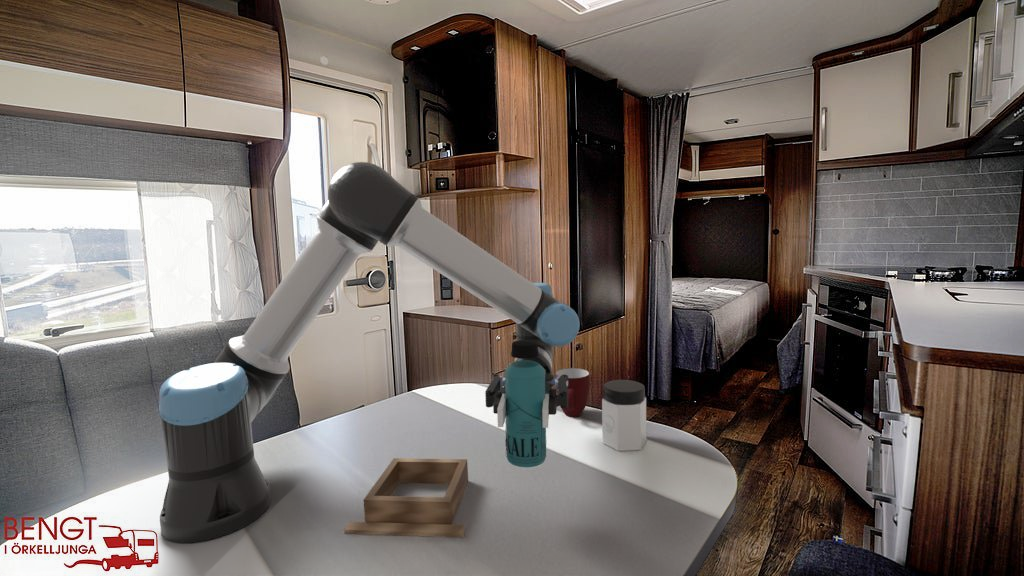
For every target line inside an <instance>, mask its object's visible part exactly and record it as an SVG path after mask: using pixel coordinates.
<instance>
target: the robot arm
mask: <svg viewBox="0 0 1024 576" xmlns="http://www.w3.org/2000/svg"><path fill="white" fill-rule="evenodd" d="M422 205H423V204H422V201H421V198H420V197H418V196H417V195H416V194H413V193H412V192H411V191H409V190H408V189H407V188H406V187H404V186H403V185H402V184H401V183H399V182H398V180H397V179H395V178H394V177H393V176H392V175H391V174H390V173H388V172H387V170H385V169H384V168H382V167H381V166H379V165H377V164H375V163H371V162H369V161H368V162H367V161H366V162H365V161H359V162H357V161H356V162H350V163H348V164H346V165H344V166H342V167H341V168H340V169H339V170H337V172H335V174H334V175H333V176H332V178H331V180H330V182H329V185H328V189H327V200H326V201H325V203H324V204H323V206H322V207H321V208H320V210H319V212H318V213H317V214H316V220H317V225H318V228H317V229H316V231H315V232H314V234H313V235H312V237H311V238H310V240H309V241H308V243H307V244H306V246H305V247H304V248H303V250H301V252H300V254H299V256H298V257H297V258H296V260H295V262H294V263H293V264H292V266H291V267H290V268H289V270H288V272H286V274H285V276H284V277H283V279H281V281H280V283H279V284H278V286H277V287H276V289H275V290H274V292H273V293H272V294H271V295H270V297H269V299H268V300H267V301H266V303H265V305H264V306H263V307H262V309H261V310H260V312H258V315H257V316H256V317H255V318H254V320H253V321H252V323H251V324H250V325H249V328H248V329H247V330H246V332H245V333H244V334H243V335H238V336H234V337H231V338H230V339H229V340H228V341H227V343H226V344H225V346H224V347H223V349H221V350H222V351H221V352H220V353H219V354H218V356H217V357H216V359H215V360H214V361H213V362H212V363H206V364H205V363H204V364H201V365H196V366H193V367H190V368H189V369H184V370H182V371H181V370H180V371H179V372H177V373H175V374H173V375H171V376H170V377H168V378H167V379H166V380H165V381H164V382H163V383H162V384H161V387H160V388H159V394H158V395H159V403H158V412H159V416H160V421H161V428H162V429H161V430H162V435H163V442H164V450H165V457H166V465H167V471H168V483H167V487H166V491H165V493H164V494H165V495H164V499H163V504H162V508H161V511H160V515H159V523H160V525H159V526H160V532H161V535H162V537H163V538H164V539H166V540H168V541H170V542H175V543H188V544H189V543H197V542H203V541H204V542H205V541H209V540H212V539H216V538H220V537H222V536H226V535H228V534H231V533H234V532H235V531H238V530H240V529H242V528H244V527H246V526H248V525H250V524H251V523H253V522H254V521H256V520H257V519H258V518H259V517H261V516H262V515H263V514H264V513H265V512H266V511H267V510H268V508H269V506H270V505H271V500H272V499H271V498H272V497H271V490H270V489H271V488H270V485H269V483H268V481H267V480H266V479H265V477H264V475H263V473H262V470H261V468H260V466H259V464H258V462H257V460H256V457H255V450H254V440H253V438H254V437H253V431H252V422H253V421H254V420H255V419H256V417H257V416H258V415H259V413H260V412H261V411H262V409H264V407H265V406H267V405H268V404H269V403H270V401H271V400H272V399H273V397H274V396H275V394H276V392H277V389H278V387H279V386H280V384H281V383H282V381H283V380H284V378H285V377H286V376H287V374H288V373H289V371H290V369H291V368H290V367H291V366H290V362H289V357H290V355H292V352H293V351H294V350H295V348H296V347H297V345H298V344H299V342H300V341H301V340H302V338H303V336H304V335H305V334H306V332H307V330H308V329H309V327H310V326H312V323H313V322H314V321H315V319H316V318H317V316H318V315H319V313H320V311H321V310H322V309H323V307H324V306H325V304H326V303H327V302H328V300H329V299H330V297H331V296H332V295H333V293H334V292H335V290H336V288H337V287H338V286H339V284H340V283H341V282H342V280H343V279H344V277H345V275H346V274H347V273H348V271H349V270H350V269H351V267H352V266H353V264H354V262H356V260H357V259H358V257H359V256H360V255H362V254H366V253H372V251H373V249H375V247H376V246H377V244H378V243H379V242H380V243H382V245H384V246H386V247H388V248H390V247H395V246H396V247H399V248H400V249H401V250H403V251H405V252H406V253H408V254H410V255H411V256H412V257H414V258H415V259H417V260H419V261H420V262H422V263H423V264H425V265H426V266H427V267H428V266H429V268H431V269H433V270H435V272H437V273H439V274H441V275H442V276H444V277H445V278H447V279H448V280H450V281H451V282H452V283H454V284H456V285H457V286H458V287H461V288H462V289H464V290H465V291H466V292H469V293H470V294H471V295H473V296H474V297H476V298H478V299H479V300H480V301H482V302H483V303H486V304H487V305H488V306H490V307H491V308H493V309H494V310H496V311H498V312H500V314H502V315H503V316H505V317H507V318H509V319H510V320H511V321H513V322H514V323H515V325H516V326H515V327H516V331H515V332H516V334H515V335H516V337H515V338H516V340H515V341H519V340H531V341H535V342H537V344H538V352H539V355H538V356H537V357H535V358H529V359H519V358H515V359H514V362H516V361H521V360H530V361H535V362H537V363H539V364H540V365H541V366H542V367H543V368H544V369H545V371H546V374H545V399H544V400H543V409H542V413H543V428H546V429H547V428H548V429H549V422H550V421H549V417H550V415H552V416H553V415H556V414H557V408H558V407H560V408H561V409H562V408H564V409H566V408H568V375H561V376H560V377H557V378H555V375H553V361H554V348H553V347H556V348H557V347H558V348H559V347H565V346H567V345H569V344H571V343H572V342H573V341H574V340H575V339H576V337H577V336H578V334H579V330H580V319H579V316H578V314H577V313H576V311H575V309H573V308H572V307H570V306H569V305H568V304H567V303H565V302H562V301H561V302H560V300H558V299H557V298H555V297H554V296H553V293H552V291H553V290H552V286H551V285H550V284H549V283H546V282H532V281H530V280H529V279H527V278H526V277H524V276H522V275H521V274H520V273H518V272H517V271H515V270H514V269H513V268H511V267H510V266H508V265H506V263H504V262H502V261H501V260H499V259H498V258H497V257H495V256H493V255H492V254H491V253H489V252H488V251H486V250H484V249H483V248H481V246H479V245H478V244H476V243H474V242H473V241H472V240H470V239H468V238H467V237H466V236H464V235H463V234H461V233H460V232H459V231H457V230H456V229H454V228H453V227H452V226H449V225H448V224H447V223H445V222H443V221H442V220H441V219H439V218H438V217H437V216H435V215H433V213H430V212H429V211H428V210H427V209H425V208H424V207H423V206H422ZM554 386H555V388H552V387H554ZM504 387H505V377H503V376H502V375H500V374H497V373H494V374H492V375H491V382H490V383H489V385H488V386H487V388H486V389H485V391H484V392H485V393H484V394H485V395H484V396H485V407H486V408H492V407H493V409H492V410H493V411H492V412H493V414H495V415H496V414H497V428H504V426H505V422H506V421H505V420H506V398H504V394H505V388H504ZM556 387H557V390H556ZM557 391H558V394H559V395H557Z"/></svg>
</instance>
